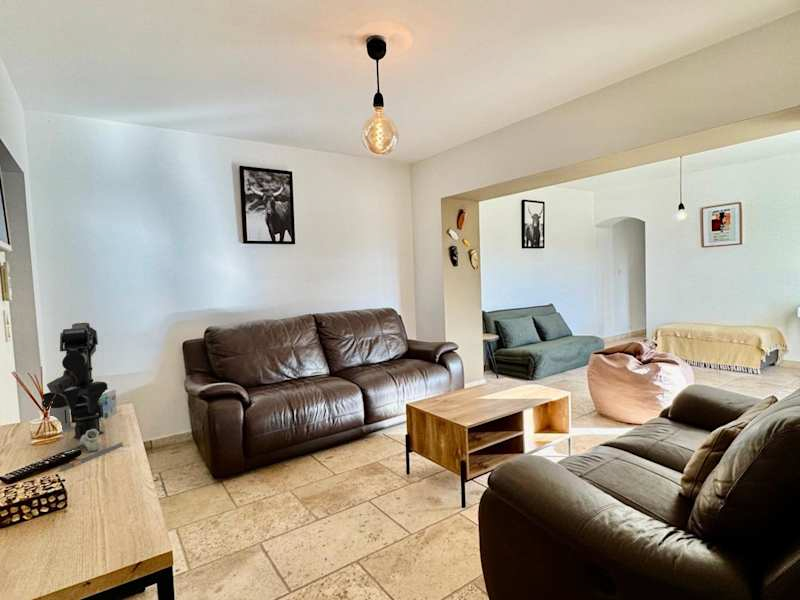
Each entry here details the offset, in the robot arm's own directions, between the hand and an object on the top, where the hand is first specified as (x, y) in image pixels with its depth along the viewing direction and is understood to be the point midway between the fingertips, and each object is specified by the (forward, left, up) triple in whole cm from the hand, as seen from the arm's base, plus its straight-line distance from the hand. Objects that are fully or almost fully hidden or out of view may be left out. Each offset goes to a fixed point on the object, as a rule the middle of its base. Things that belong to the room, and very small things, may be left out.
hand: (81, 411), depth 137 cm
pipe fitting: (+1, +5, -13) cm, 14 cm away
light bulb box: (-26, -27, -13) cm, 39 cm away
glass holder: (-11, -25, -13) cm, 30 cm away
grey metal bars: (+6, +5, -13) cm, 15 cm away
